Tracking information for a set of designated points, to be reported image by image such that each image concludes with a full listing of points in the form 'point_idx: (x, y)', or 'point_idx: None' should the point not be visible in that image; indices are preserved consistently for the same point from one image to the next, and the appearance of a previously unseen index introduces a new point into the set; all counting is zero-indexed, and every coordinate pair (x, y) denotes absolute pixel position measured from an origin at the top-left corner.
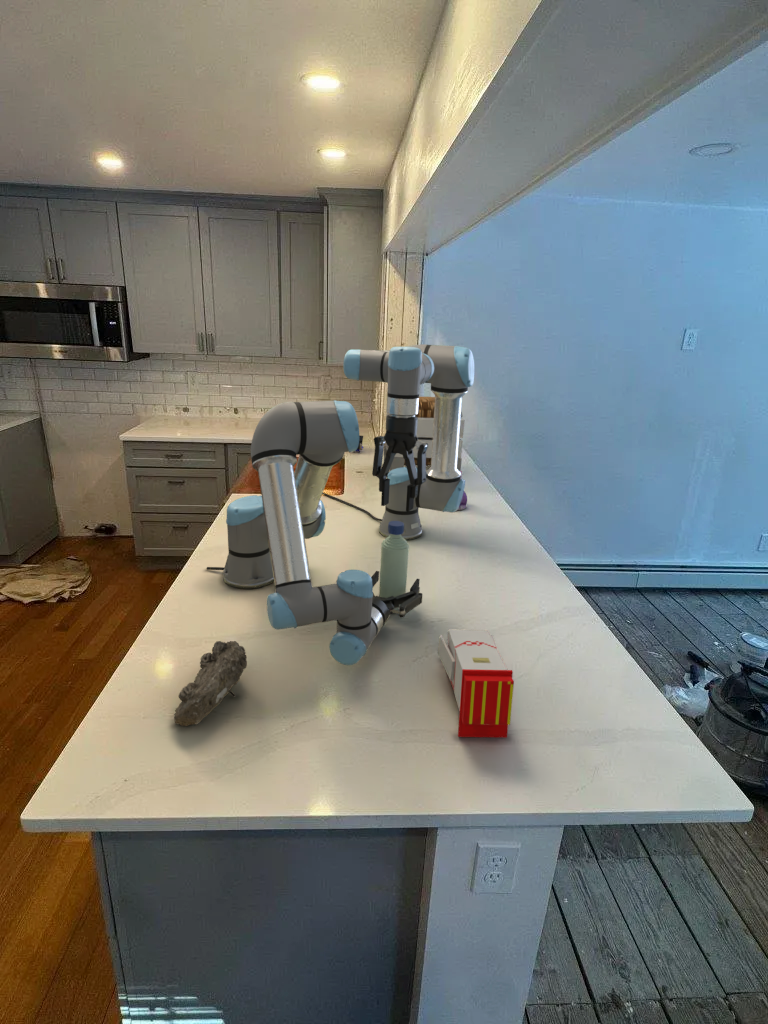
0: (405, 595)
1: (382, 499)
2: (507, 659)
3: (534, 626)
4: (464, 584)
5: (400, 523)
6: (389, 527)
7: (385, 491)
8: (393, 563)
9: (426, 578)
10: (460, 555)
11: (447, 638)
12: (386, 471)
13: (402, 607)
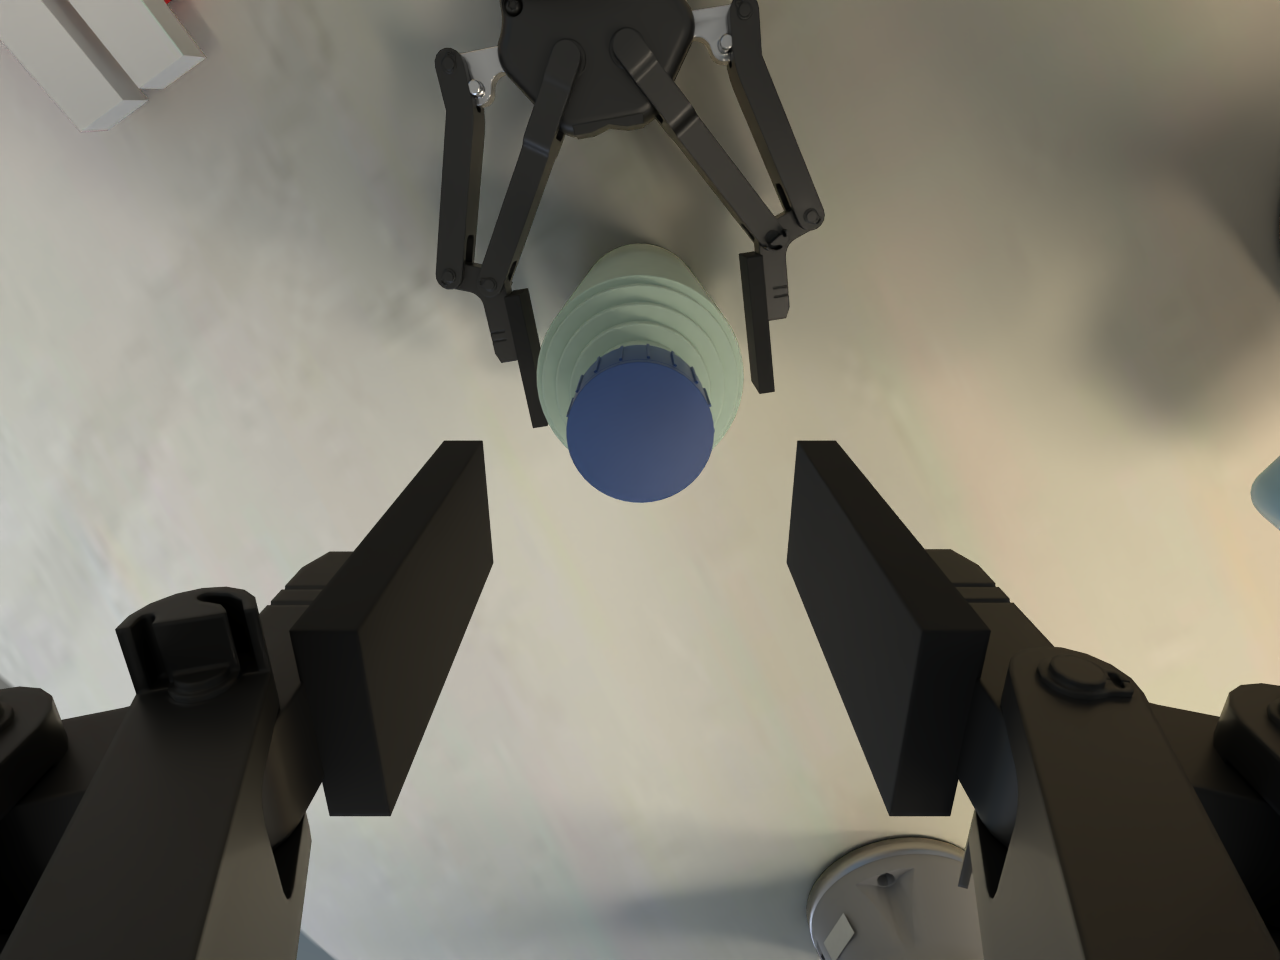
0: (505, 214)
1: (843, 472)
2: (8, 161)
3: (75, 473)
4: (466, 640)
5: (607, 460)
6: (679, 367)
7: (846, 557)
8: (602, 272)
9: (623, 609)
10: (592, 839)
11: (201, 55)
12: (1025, 878)
13: (443, 60)
